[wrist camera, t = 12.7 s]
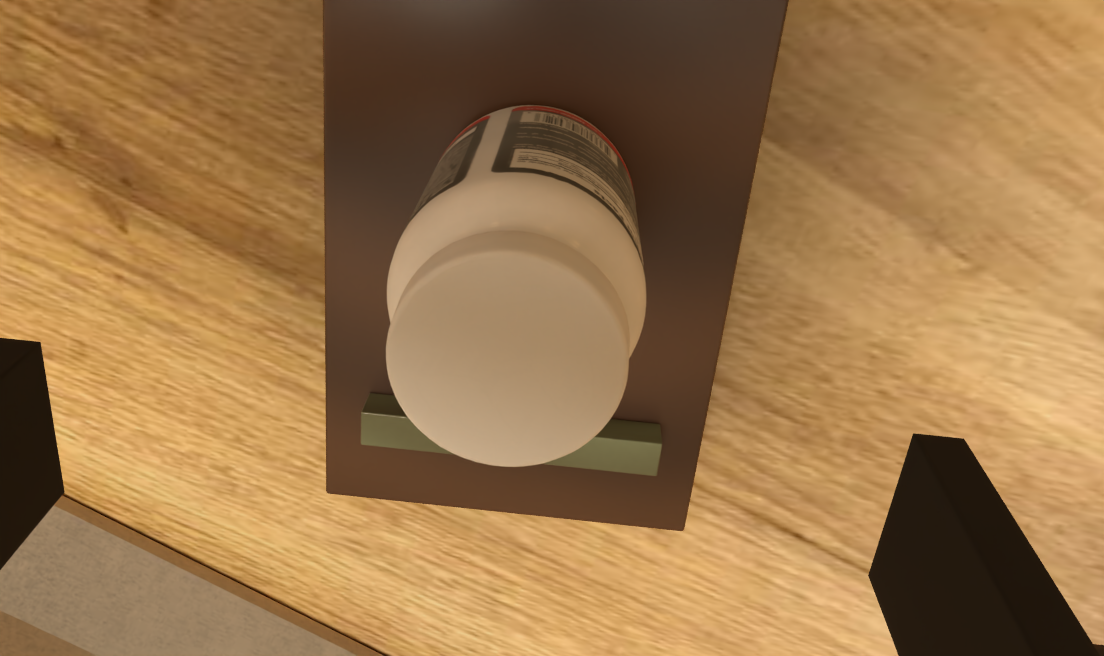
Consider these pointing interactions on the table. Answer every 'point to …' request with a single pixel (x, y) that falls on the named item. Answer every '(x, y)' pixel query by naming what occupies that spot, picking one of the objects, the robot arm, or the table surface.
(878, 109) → the table surface
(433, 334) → the pill bottle
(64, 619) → the barrier
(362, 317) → the walnut shelf
